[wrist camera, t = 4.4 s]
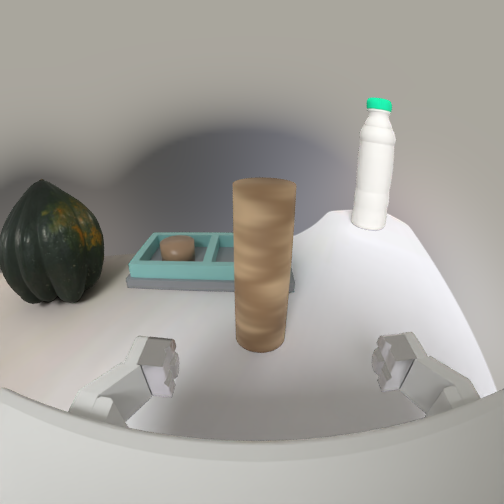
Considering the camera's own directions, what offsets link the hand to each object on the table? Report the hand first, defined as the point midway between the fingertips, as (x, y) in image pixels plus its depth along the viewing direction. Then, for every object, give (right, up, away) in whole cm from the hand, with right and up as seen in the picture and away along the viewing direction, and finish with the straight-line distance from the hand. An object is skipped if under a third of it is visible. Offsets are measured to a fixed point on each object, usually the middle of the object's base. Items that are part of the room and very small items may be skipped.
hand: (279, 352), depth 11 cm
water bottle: (+22, +9, +44) cm, 50 cm away
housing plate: (-6, +2, +27) cm, 28 cm away
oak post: (0, -4, +16) cm, 16 cm away
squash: (-26, -1, +21) cm, 34 cm away
